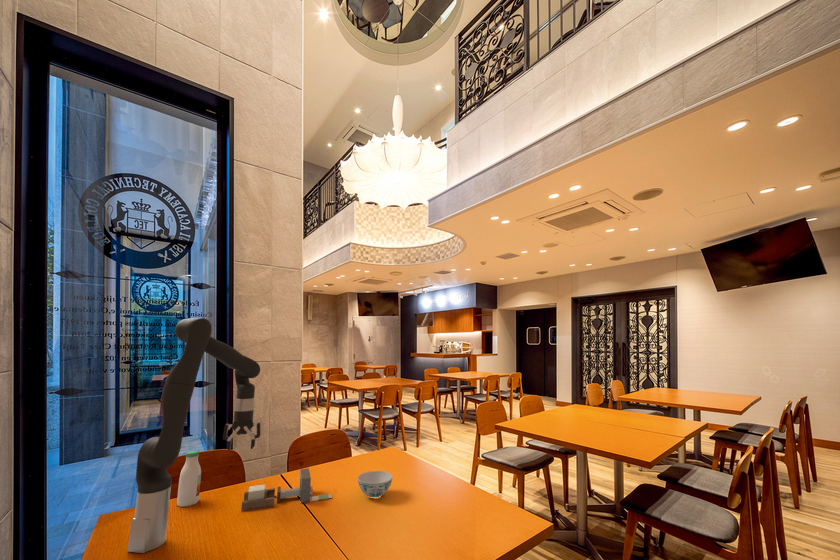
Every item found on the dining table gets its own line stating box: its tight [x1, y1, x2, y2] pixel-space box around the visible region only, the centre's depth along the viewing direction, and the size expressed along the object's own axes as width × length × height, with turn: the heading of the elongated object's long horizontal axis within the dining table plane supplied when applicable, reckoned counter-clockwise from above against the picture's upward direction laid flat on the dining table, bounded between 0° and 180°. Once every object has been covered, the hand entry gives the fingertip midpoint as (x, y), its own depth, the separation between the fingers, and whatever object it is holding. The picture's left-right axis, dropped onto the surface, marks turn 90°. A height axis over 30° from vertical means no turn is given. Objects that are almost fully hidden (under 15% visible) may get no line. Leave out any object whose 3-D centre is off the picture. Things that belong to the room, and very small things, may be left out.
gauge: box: [240, 467, 333, 512], centre depth 156 cm, size 35×13×9 cm, turn 110°
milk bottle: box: [176, 449, 202, 508], centre depth 153 cm, size 8×8×20 cm
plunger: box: [276, 485, 314, 504], centre depth 156 cm, size 14×8×4 cm, turn 110°
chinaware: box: [357, 470, 393, 497], centre depth 159 cm, size 15×15×8 cm
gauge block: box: [247, 484, 268, 501], centre depth 152 cm, size 7×6×6 cm
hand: (240, 449), depth 155 cm, fingers open, 8 cm apart
